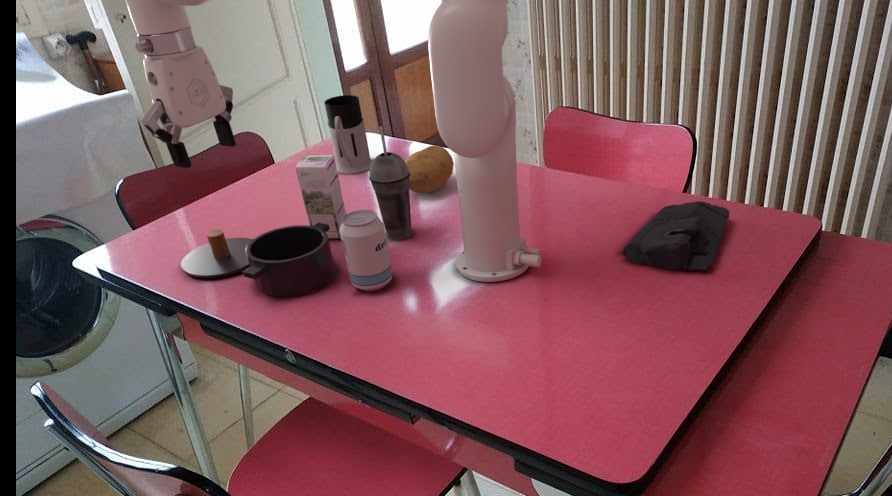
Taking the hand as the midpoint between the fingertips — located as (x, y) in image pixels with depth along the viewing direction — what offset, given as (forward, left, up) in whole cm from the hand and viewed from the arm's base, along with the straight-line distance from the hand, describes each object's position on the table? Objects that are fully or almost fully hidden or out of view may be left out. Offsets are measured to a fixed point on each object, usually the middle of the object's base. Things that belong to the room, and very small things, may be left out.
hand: (206, 155), depth 112 cm
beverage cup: (-21, -20, -20) cm, 35 cm away
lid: (+4, 0, -19) cm, 20 cm away
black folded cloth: (-70, -35, -20) cm, 81 cm away
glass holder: (+8, -44, -20) cm, 49 cm away
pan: (-13, 0, -20) cm, 24 cm away
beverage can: (-27, -3, -20) cm, 34 cm away
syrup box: (-8, -16, -20) cm, 27 cm away
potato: (-15, -40, -20) cm, 47 cm away
